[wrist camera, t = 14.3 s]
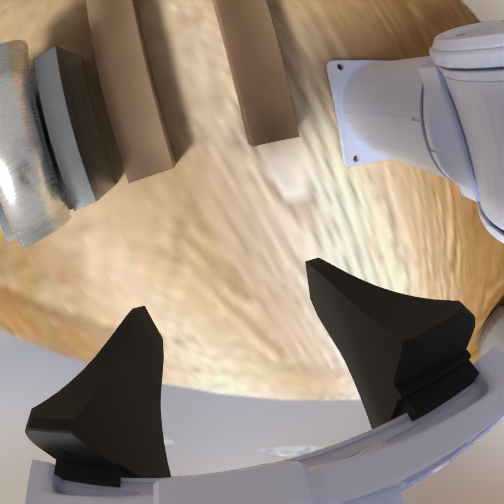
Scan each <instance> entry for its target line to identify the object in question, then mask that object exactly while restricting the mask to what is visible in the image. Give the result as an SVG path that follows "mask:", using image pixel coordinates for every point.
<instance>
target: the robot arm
mask: <svg viewBox="0 0 504 504" xmlns="http://www.w3.org/2000/svg"><path fill="white" fill-rule="evenodd" d="M429 54H430V56H424V57H416V58H409V59H402V60H396V61H382V60H335V61H330V62H328V63H327V64H326V70H327V75H328V79H329V84H330V89H331V94H332V99H333V104H334V109H335V115H336V120H337V126H338V132H339V139H340V146H341V152H342V160H343V163H344V164H345V165H347V166H355V165H361V164H366V163H371V162H377V161H382V160H388V159H393V160H396V161H399V162H402V163H405V164H408V165H411V166H414V167H417V168H420V169H423V170H425V171H428V172H431V173H433V174H436V175H439V176H441V177H444V178H446V179H449V180H451V181H454V182H455V183H456V184H457V185H458V186H459V188H460V190H461V193H462V195H464V196H466V197H468V198H470V199H472V200H474V201H476V202H477V203H478V209H479V215H480V218H481V221H482V223H483V224H484V226H485V228H486V229H487V230H488V231H489V233H490V234H492V235H493V236H494V237H495V238H496V239H498V240H499V241H501V242H502V243H504V20H500V21H488V22H481V23H475V24H470V25H465V26H461V27H457V28H454V29H451V30H448V31H445V32H443V33H441V34H439V35H437V36H436V37H435V38H434V41H433V44H432V46H431V47H430V49H429ZM338 64H339V65H341V70H339V69H338V67H337V65H338ZM354 156H356V157H357V159H356V161H354V160H353V158H354ZM305 263H306V270H307V277H308V285H309V292H310V299H311V301H312V304H313V306H314V308H315V311H316V313H317V315H318V317H319V319H320V320H321V322H322V324H323V325H324V327H325V329H326V330H327V332H328V333H329V335H330V337H331V338H332V340H333V341H334V343H335V345H336V346H337V348H338V350H339V351H340V353H341V355H342V357H343V358H344V360H345V362H346V365H347V367H348V369H349V371H350V373H351V376H352V378H353V380H354V383H355V385H356V387H357V390H358V392H359V395H360V397H361V400H362V402H363V405H364V408H365V410H366V413H367V416H368V418H369V421H370V424H371V427H372V430H370V431H368V432H365V433H363V434H360V435H358V436H356V437H353V438H351V439H348V440H346V441H343V442H340V443H338V444H335V445H332V446H329V447H326V448H324V449H320V450H317V451H314V452H311V453H308V454H305V455H301V456H298V457H294V458H291V459H287V460H283V461H279V462H275V463H269V464H262V465H257V466H252V467H248V468H242V469H237V470H230V471H224V472H217V473H209V474H200V475H189V476H176V477H171V475H170V470H169V466H168V462H167V457H166V452H165V445H164V439H163V431H162V421H161V407H160V404H161V403H160V402H161V386H162V373H163V361H164V352H163V338H162V336H161V335H160V333H159V331H158V329H157V328H156V326H155V324H154V322H153V320H152V319H151V317H150V315H149V313H148V311H147V309H146V307H145V306H141V307H137V308H133V309H132V310H131V311H130V312H129V313H128V315H127V316H126V317H125V319H124V320H123V321H122V323H121V324H120V325H119V327H118V328H117V329H116V331H115V332H114V333H113V335H112V336H111V337H110V339H109V340H108V341H107V343H106V344H105V345H104V346H103V348H102V349H101V350H100V351H99V353H98V354H97V355H96V356H95V357H94V359H93V360H92V361H91V362H90V363H89V364H88V365H87V366H86V368H84V370H83V371H81V372H80V373H79V374H78V375H77V376H76V377H75V378H74V379H73V380H72V381H71V382H69V383H68V384H67V385H66V386H65V387H64V388H62V389H61V390H60V391H59V392H57V393H56V394H54V395H53V396H52V397H50V398H49V399H47V400H46V401H44V402H43V403H41V404H39V405H38V406H36V407H34V408H32V410H31V413H30V416H29V419H28V423H27V426H26V429H25V433H26V435H27V436H28V438H29V439H30V440H31V441H32V442H33V443H34V444H35V445H36V446H38V447H39V448H41V449H42V450H43V451H45V452H46V453H48V454H49V455H50V456H52V457H53V458H55V459H56V465H54V464H51V463H48V462H44V461H39V460H35V459H34V460H32V464H31V469H30V475H29V481H28V487H27V494H26V502H25V504H405V501H404V499H403V497H402V495H401V493H400V492H402V491H404V490H406V489H408V488H409V487H411V486H413V485H415V484H416V483H418V482H420V481H421V480H423V479H425V478H426V477H428V476H430V475H431V474H433V473H434V472H436V471H437V470H439V469H440V468H442V467H443V466H445V465H446V464H448V463H449V462H451V461H452V460H454V459H455V458H456V457H458V456H459V455H460V454H462V453H463V452H464V451H466V450H467V449H468V448H470V447H471V446H472V445H473V444H475V443H476V442H477V441H478V440H480V439H481V438H482V437H483V436H484V435H485V434H487V433H488V432H489V431H490V430H491V429H492V428H494V427H495V426H496V425H497V424H498V423H499V422H500V421H501V420H502V419H503V418H504V353H503V352H502V351H501V350H500V349H499V348H498V346H494V347H493V348H491V349H490V350H489V351H488V352H486V353H485V354H484V355H482V356H481V357H480V358H479V359H478V360H477V361H476V362H475V363H474V364H472V363H471V362H470V361H469V359H470V357H471V354H470V353H469V352H468V351H467V350H466V348H467V346H468V343H469V341H470V339H471V336H472V334H473V331H474V328H475V317H474V315H473V314H472V313H471V312H470V311H469V310H468V309H467V308H466V307H465V306H464V305H463V304H462V303H461V302H460V301H450V300H434V299H427V298H420V297H414V296H409V295H405V294H401V293H397V292H393V291H390V290H387V289H384V288H381V287H378V286H375V285H373V284H370V283H368V282H366V281H363V280H361V279H359V278H357V277H355V276H352V275H350V274H348V273H346V272H345V271H343V270H341V269H339V268H337V267H335V266H333V265H331V264H330V263H328V262H326V261H324V260H322V259H320V258H316V259H312V260H309V261H306V262H305Z"/></svg>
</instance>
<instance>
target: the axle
mask: <svg viewBox="0 0 504 504" xmlns="http://www.w3.org/2000/svg"><path fill="white" fill-rule="evenodd" d="M0 202H1V205H2V207H3V210H4V212H5V215H6V218H7V220H8V222H9V225H10V227H11V230H12V232H13V234H14V236H15V239H16V241H17V243H18V245H19V247H20V248H24V247H27V246H29V245H31V244H33V243H35V242H37V241H39V240H41V239H42V238H44V237H46V236H47V235H49V234H51V233H52V232H54V231H55V230H57V229H58V228H60V227H61V226H63V225H64V224H65V223H66V222H68V221H69V220H70V219H71V217H72V216H71V213H70V211H69V208H68V206H67V203H66V200H65V198H64V195H63V192H62V190H61V187H60V184H59V181H58V178H57V175H56V172H55V169H54V166H53V163H52V160H51V157H50V153H49V150H48V147H47V143H46V139H45V136H44V132H43V128H42V124H41V120H40V116H39V111H38V107H37V102H36V97H35V91H34V86H33V80H32V74H31V67H30V59H29V50H28V44H27V43H26V42H25V41H22V40H14V41H9V42H5V43H2V44H0Z"/></svg>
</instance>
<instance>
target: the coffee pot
mask: <svg viewBox="0 0 504 504" xmlns="http://www.w3.org/2000/svg"><path fill="white" fill-rule="evenodd" d="M494 346H498V348H499V349H500V350H501V351H502V352H503V353H504V306H500V307H498V308H497V309H495V310H494V311H493V313H492V314H491V315H490V316H489V317H488V319H487V320H486V322H485V323H484V325H483V327H482V328H481V331H480V333H479V344H478V349H479V353H480V354H481V356H482V355H484V354H485V353H486V352H488V351H489V350H490V349H491V348H493V347H494Z"/></svg>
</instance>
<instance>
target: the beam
mask: <svg viewBox="0 0 504 504" xmlns="http://www.w3.org/2000/svg"><path fill="white" fill-rule="evenodd" d="M213 4H214V8H215V11H216V15H217V19H218V23H219V26H220V30H221V34H222V38H223V42H224V46H225V49H226V53H227V57H228V61H229V65H230V69H231V73H232V77H233V81H234V85H235V89H236V93H237V97H238V101H239V105H240V110H241V114H242V118H243V122H244V126H245V131H246V135H247V139H248V143H249V144H250V145H252V146H257V145H261V144H266V143H270V142H275V141H280V140H284V139H289V138H295V137H299V132H298V127H297V122H296V117H295V112H294V107H293V103H292V98H291V94H290V89H289V85H288V80H287V76H286V72H285V68H284V64H283V60H282V56H281V52H280V48H279V44H278V40H277V37H276V33H275V29H274V26H273V22H272V19H271V15H270V12H269V8H268V5H267V2H266V0H213ZM86 6H87V14H88V21H89V27H90V34H91V40H92V45H93V51H94V56H95V61H96V66H97V71H98V75H99V80H100V84H101V88H102V93H103V97H104V101H105V105H106V109H107V112H108V116H109V120H110V124H111V127H112V131H113V134H114V138H115V141H116V144H117V148H118V151H119V154H120V157H121V161H122V164H123V167H124V170H125V173H126V176H127V179H128V182H129V183H131V182H134V181H137V180H139V179H142V178H145V177H148V176H151V175H154V174H157V173H160V172H163V171H166V170H169V169H172V168H174V166H175V165H176V162H175V158H174V155H173V151H172V148H171V144H170V141H169V137H168V134H167V130H166V126H165V123H164V119H163V115H162V112H161V108H160V104H159V100H158V96H157V93H156V89H155V85H154V81H153V77H152V73H151V68H150V64H149V60H148V56H147V52H146V47H145V43H144V38H143V34H142V29H141V24H140V20H139V15H138V10H137V5H136V0H86Z"/></svg>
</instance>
